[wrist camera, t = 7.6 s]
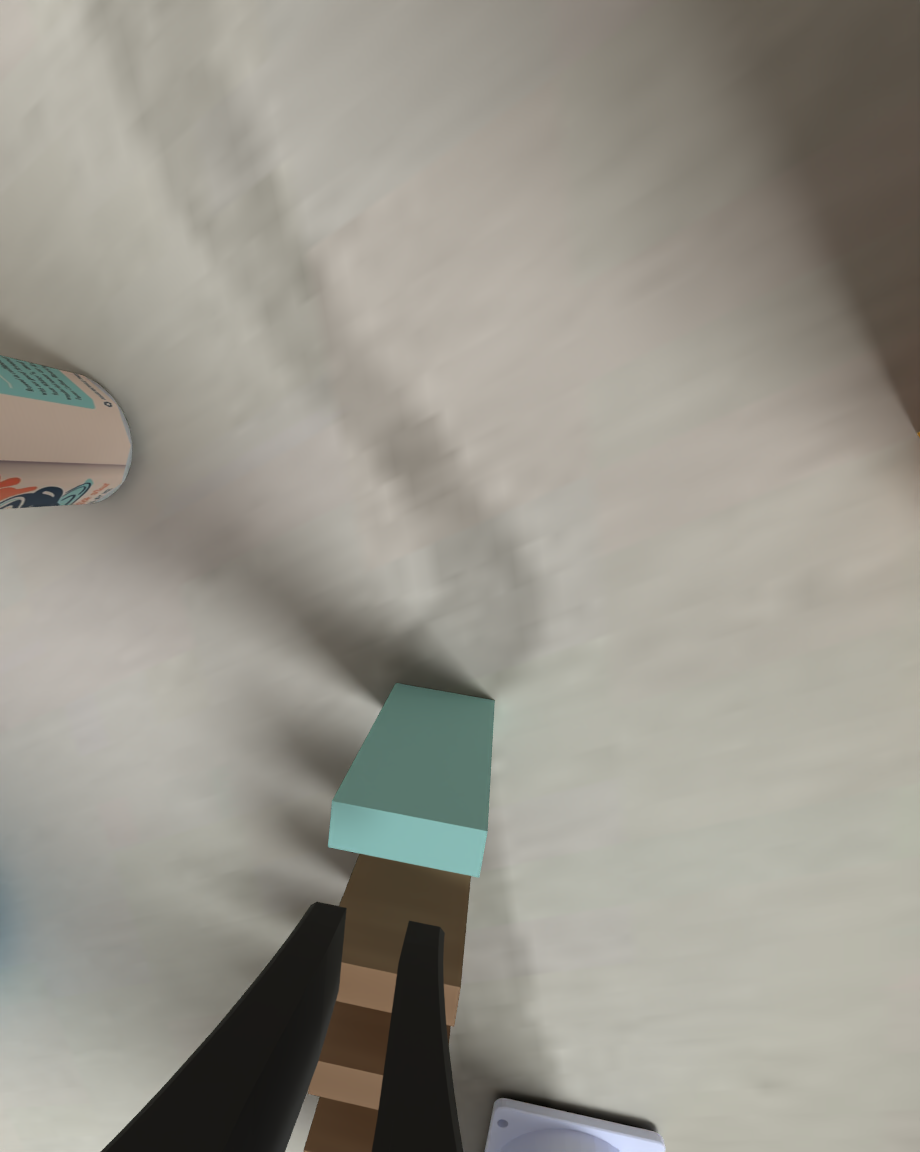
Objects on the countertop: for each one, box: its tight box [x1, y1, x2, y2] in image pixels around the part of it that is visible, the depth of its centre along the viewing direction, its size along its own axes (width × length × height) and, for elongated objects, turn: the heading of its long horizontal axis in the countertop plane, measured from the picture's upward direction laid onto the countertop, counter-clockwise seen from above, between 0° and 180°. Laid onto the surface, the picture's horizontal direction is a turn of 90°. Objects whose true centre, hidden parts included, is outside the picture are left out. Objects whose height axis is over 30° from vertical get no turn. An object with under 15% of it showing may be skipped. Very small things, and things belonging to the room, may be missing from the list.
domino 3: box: [308, 1001, 450, 1110], centre depth 17 cm, size 1×4×7 cm, turn 83°
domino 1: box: [304, 1097, 378, 1152], centre depth 18 cm, size 1×4×7 cm, turn 83°
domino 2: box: [336, 854, 471, 1026], centre depth 16 cm, size 1×4×7 cm, turn 83°
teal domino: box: [328, 683, 495, 877], centre depth 15 cm, size 1×4×7 cm, turn 82°
